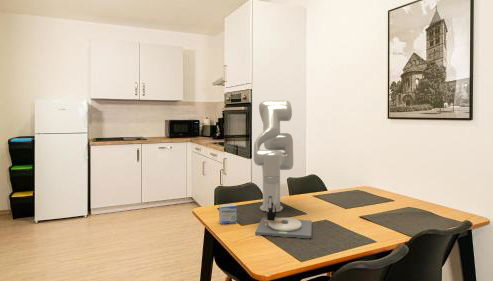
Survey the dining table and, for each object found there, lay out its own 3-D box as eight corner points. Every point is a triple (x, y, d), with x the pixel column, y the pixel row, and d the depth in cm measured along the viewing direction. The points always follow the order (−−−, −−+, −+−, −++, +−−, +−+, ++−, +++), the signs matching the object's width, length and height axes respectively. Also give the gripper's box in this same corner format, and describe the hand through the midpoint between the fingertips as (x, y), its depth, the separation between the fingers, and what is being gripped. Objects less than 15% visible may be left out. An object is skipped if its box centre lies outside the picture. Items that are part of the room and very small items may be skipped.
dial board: (262, 220, 160) (262, 217, 160) (311, 223, 155) (311, 220, 155) (255, 235, 141) (255, 231, 141) (311, 239, 136) (311, 235, 136)
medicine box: (220, 224, 154) (220, 207, 154) (219, 221, 159) (218, 204, 158) (236, 223, 157) (236, 205, 156) (234, 220, 161) (234, 203, 160)
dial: (302, 221, 154) (302, 205, 153) (300, 232, 139) (300, 214, 138) (266, 218, 157) (266, 203, 157) (261, 229, 143) (261, 212, 142)
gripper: (266, 175, 156) (266, 212, 158) (260, 182, 140) (260, 224, 141) (281, 176, 155) (281, 213, 156) (277, 183, 138) (277, 225, 140)
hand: (271, 218), depth 149 cm, fingers open, 4 cm apart
